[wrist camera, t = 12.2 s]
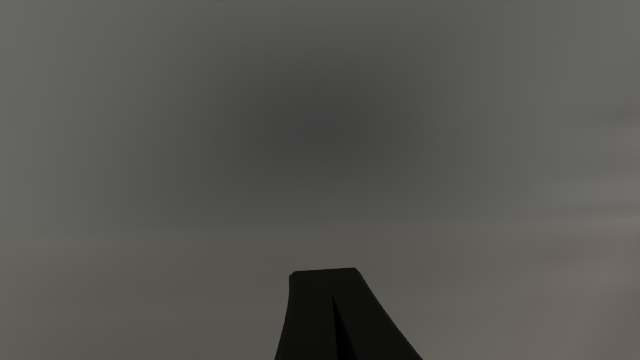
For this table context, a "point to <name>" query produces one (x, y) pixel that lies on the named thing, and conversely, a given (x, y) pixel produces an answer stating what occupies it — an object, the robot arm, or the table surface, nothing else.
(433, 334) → the table surface
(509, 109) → the table surface
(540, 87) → the table surface
